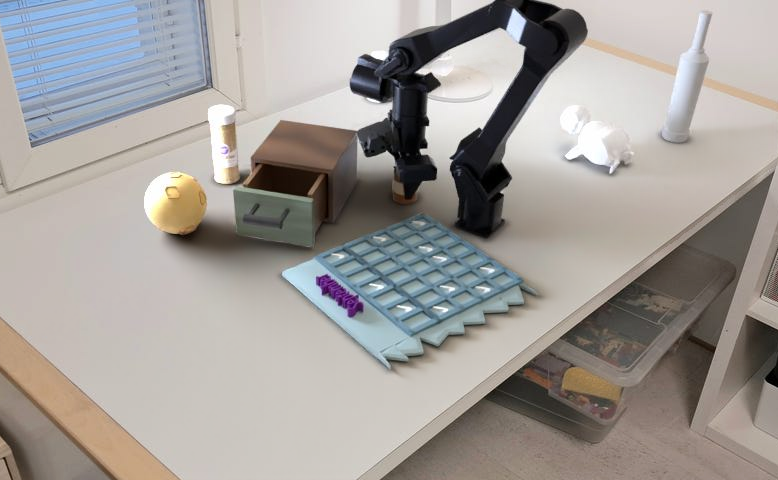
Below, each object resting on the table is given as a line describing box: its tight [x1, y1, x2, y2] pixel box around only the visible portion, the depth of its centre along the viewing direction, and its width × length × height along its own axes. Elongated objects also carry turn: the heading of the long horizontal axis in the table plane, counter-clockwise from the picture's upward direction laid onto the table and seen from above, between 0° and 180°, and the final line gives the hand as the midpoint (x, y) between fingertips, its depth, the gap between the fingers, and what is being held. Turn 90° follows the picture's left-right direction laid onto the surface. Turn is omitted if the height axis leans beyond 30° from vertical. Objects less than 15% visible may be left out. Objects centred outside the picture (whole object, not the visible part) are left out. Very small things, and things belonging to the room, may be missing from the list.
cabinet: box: [250, 119, 358, 224], centre depth 150 cm, size 15×14×10 cm
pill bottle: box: [367, 49, 392, 104], centre depth 183 cm, size 5×5×10 cm
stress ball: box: [144, 171, 208, 236], centre depth 141 cm, size 10×10×10 cm
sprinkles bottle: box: [207, 104, 241, 185], centre depth 153 cm, size 5×5×14 cm
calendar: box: [281, 212, 539, 370], centre depth 132 cm, size 27×28×2 cm
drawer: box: [232, 163, 329, 248], centre depth 141 cm, size 18×13×8 cm
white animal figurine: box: [560, 104, 635, 174], centre depth 165 cm, size 9×8×15 cm
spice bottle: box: [391, 169, 419, 205], centre depth 151 cm, size 4×4×6 cm
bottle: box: [661, 9, 713, 144], centre depth 166 cm, size 5×5×25 cm
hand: (405, 192), depth 153 cm, fingers closed on spice bottle, 4 cm apart
